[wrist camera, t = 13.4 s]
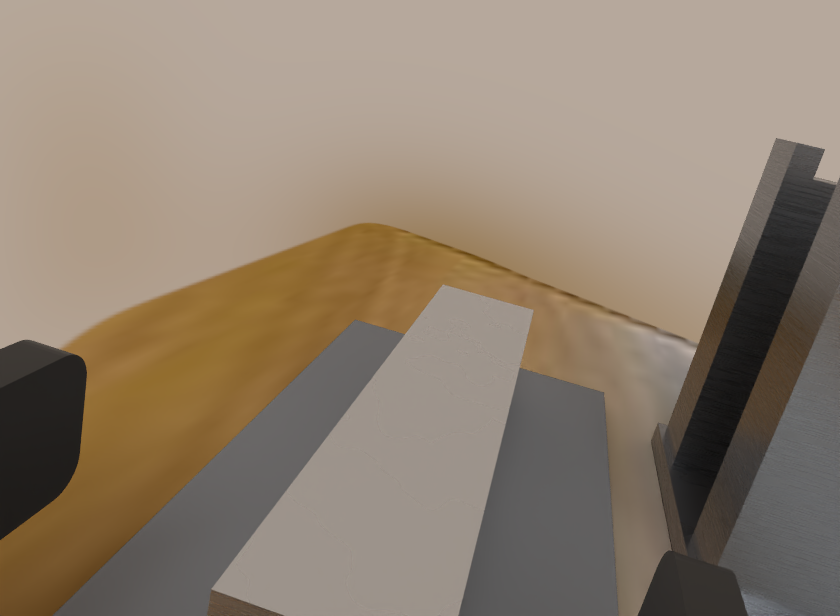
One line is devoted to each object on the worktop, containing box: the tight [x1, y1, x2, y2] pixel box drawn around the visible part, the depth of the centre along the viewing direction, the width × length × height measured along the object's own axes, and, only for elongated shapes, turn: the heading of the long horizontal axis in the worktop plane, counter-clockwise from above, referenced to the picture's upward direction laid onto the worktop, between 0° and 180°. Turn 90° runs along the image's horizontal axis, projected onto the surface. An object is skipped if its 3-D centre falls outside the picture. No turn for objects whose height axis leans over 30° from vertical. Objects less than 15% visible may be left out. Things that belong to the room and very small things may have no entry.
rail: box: [207, 285, 534, 616], centre depth 19 cm, size 18×4×4 cm, turn 167°
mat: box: [53, 320, 618, 616], centre depth 21 cm, size 21×11×1 cm, turn 167°
